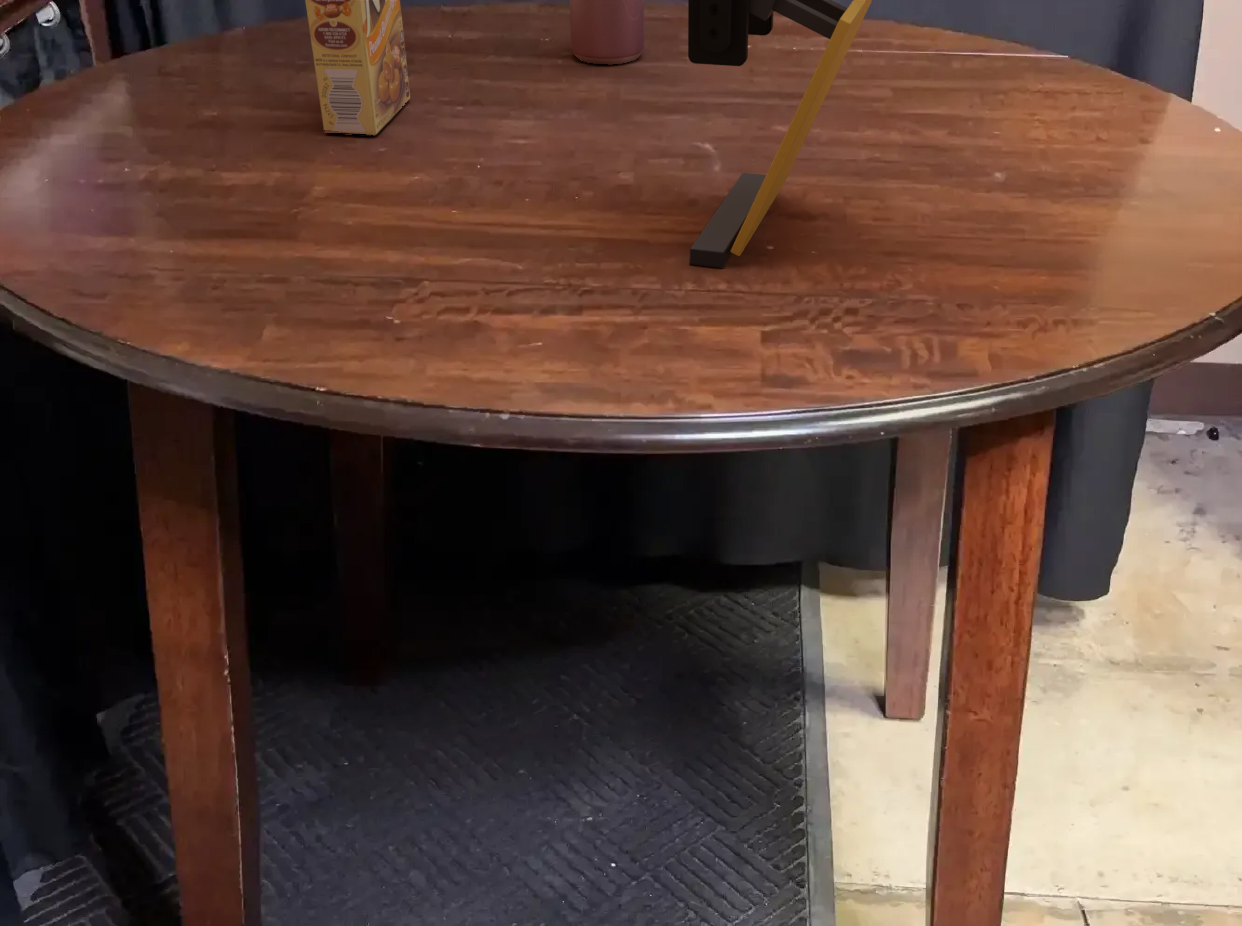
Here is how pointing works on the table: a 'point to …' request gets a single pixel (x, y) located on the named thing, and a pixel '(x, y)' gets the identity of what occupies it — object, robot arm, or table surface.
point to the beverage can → (607, 30)
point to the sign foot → (726, 223)
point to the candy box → (358, 62)
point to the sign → (816, 11)
